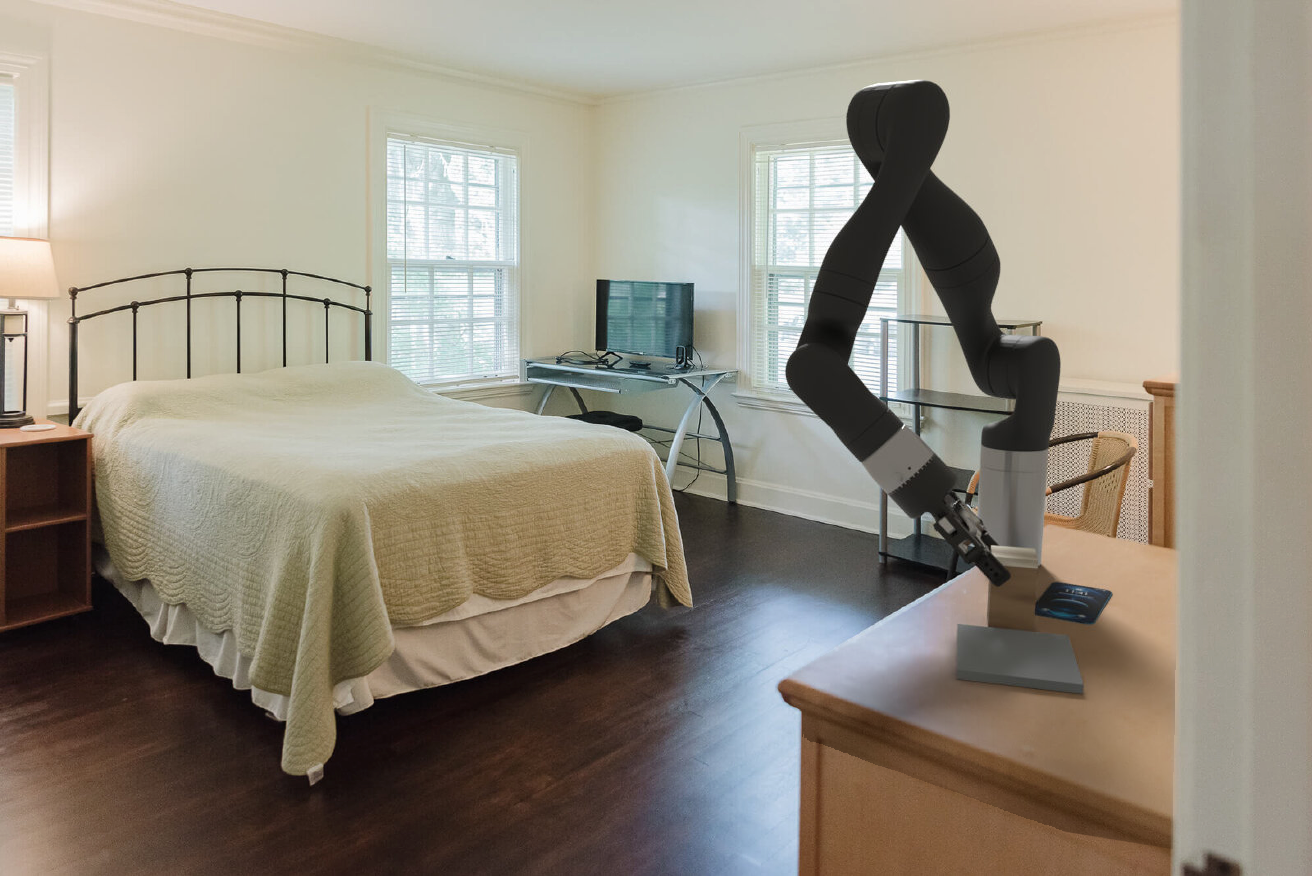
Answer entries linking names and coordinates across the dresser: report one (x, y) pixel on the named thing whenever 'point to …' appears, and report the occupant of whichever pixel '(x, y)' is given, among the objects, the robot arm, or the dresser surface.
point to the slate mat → (1017, 658)
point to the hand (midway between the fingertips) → (1003, 571)
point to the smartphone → (1072, 603)
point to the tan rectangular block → (1014, 590)
